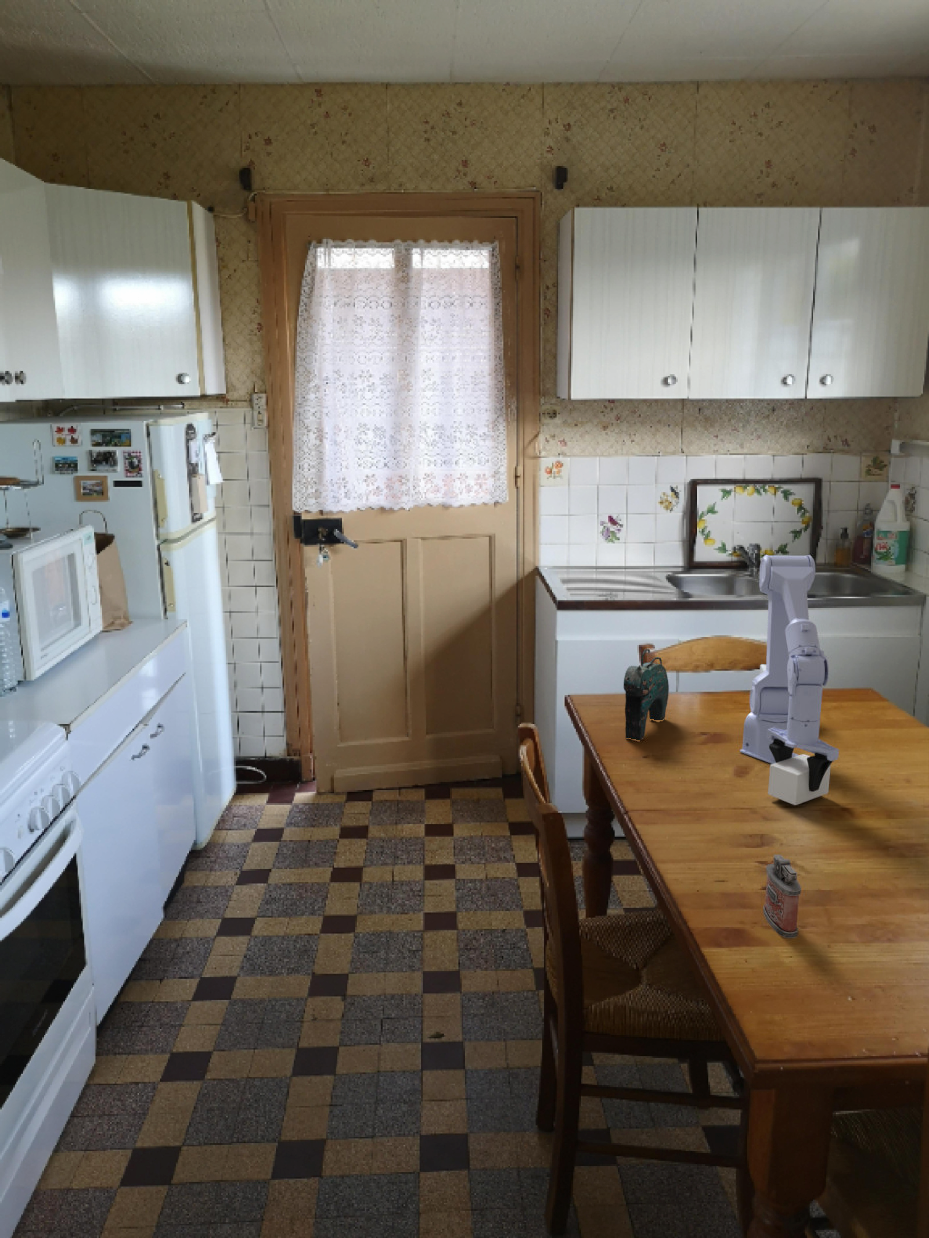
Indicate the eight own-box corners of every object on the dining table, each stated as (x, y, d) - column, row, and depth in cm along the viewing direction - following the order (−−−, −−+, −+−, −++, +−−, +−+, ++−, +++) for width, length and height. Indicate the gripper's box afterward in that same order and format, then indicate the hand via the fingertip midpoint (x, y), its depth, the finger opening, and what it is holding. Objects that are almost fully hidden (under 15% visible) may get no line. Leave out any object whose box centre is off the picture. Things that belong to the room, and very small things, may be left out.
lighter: (758, 909, 144) (762, 848, 142) (779, 907, 145) (784, 847, 142) (779, 938, 137) (784, 875, 134) (802, 937, 137) (807, 874, 134)
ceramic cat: (641, 745, 211) (644, 659, 206) (614, 740, 214) (616, 655, 210) (672, 719, 227) (676, 638, 223) (647, 715, 231) (649, 635, 226)
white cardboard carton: (795, 805, 177) (797, 775, 176) (768, 794, 182) (770, 764, 181) (828, 792, 183) (830, 763, 181) (800, 782, 188) (803, 753, 186)
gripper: (758, 710, 183) (754, 776, 186) (824, 732, 171) (818, 802, 174) (782, 704, 186) (777, 768, 190) (847, 724, 175) (841, 792, 178)
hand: (798, 784), depth 182 cm, fingers closed on white cardboard carton, 6 cm apart
